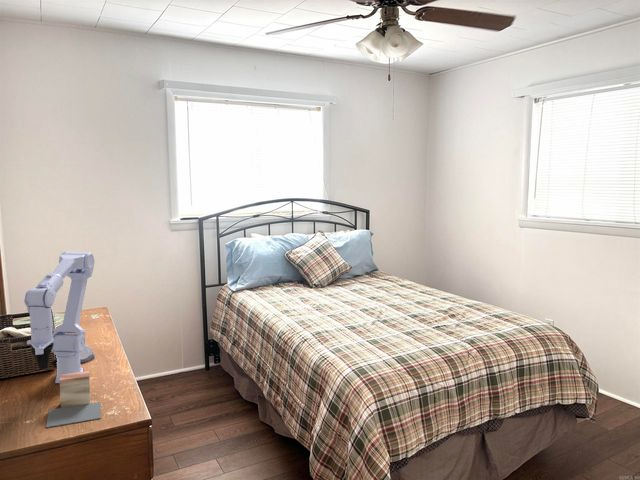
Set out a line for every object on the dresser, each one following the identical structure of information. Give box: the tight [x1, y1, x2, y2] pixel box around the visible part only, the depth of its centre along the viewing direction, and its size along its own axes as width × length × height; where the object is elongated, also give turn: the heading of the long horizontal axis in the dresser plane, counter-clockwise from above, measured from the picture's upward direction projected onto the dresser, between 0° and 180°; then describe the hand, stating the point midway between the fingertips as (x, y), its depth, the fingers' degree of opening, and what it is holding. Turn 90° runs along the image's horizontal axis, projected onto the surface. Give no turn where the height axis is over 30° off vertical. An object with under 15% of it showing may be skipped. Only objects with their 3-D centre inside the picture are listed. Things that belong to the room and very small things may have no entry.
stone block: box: [80, 344, 96, 364], centre depth 179 cm, size 12×5×10 cm
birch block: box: [59, 370, 91, 408], centre depth 147 cm, size 4×8×9 cm, turn 114°
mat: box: [45, 401, 102, 429], centre depth 141 cm, size 10×14×1 cm
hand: (43, 368), depth 148 cm, fingers closed
